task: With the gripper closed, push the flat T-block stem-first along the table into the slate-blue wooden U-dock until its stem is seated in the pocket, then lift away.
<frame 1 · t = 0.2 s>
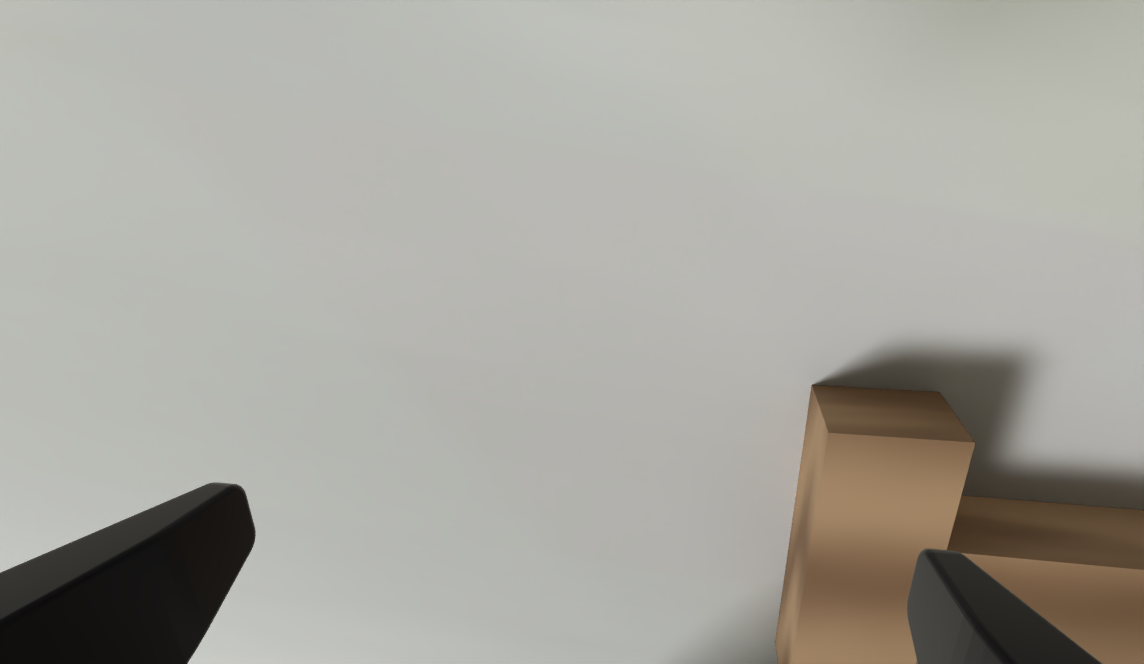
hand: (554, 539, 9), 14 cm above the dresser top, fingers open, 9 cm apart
t block: (905, 536, 24), on the dresser top
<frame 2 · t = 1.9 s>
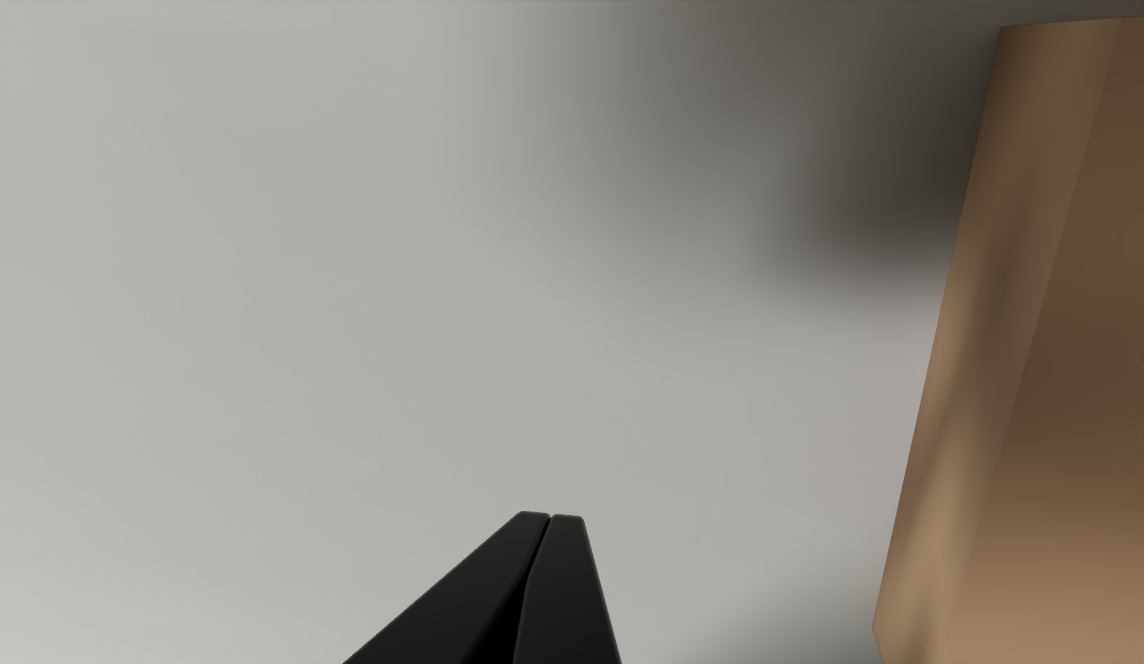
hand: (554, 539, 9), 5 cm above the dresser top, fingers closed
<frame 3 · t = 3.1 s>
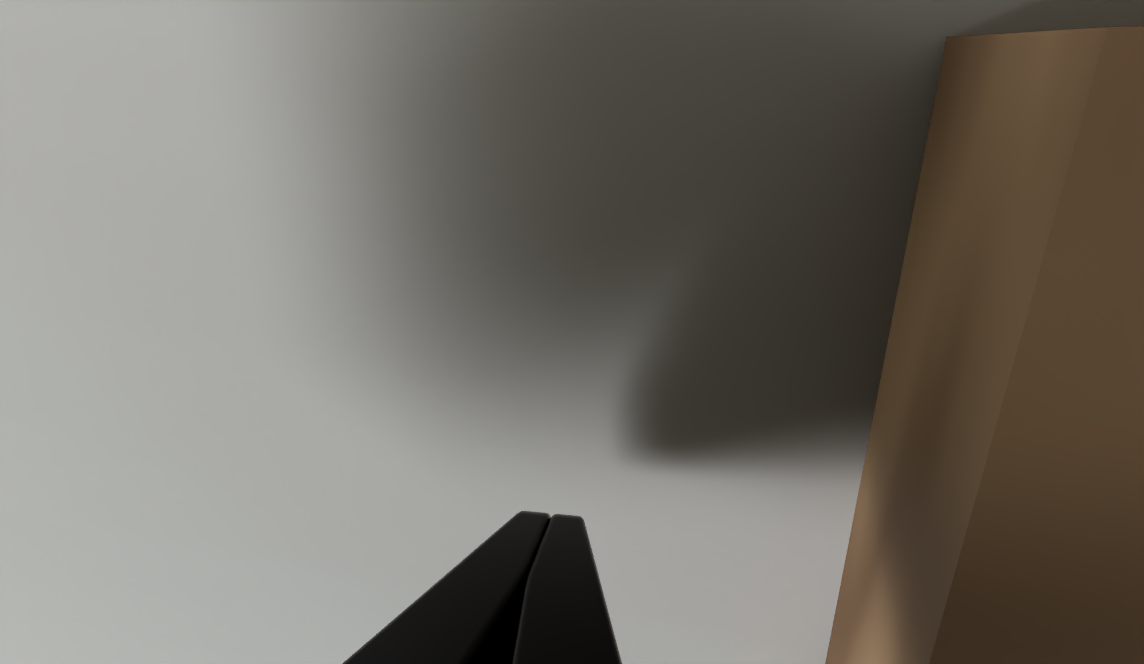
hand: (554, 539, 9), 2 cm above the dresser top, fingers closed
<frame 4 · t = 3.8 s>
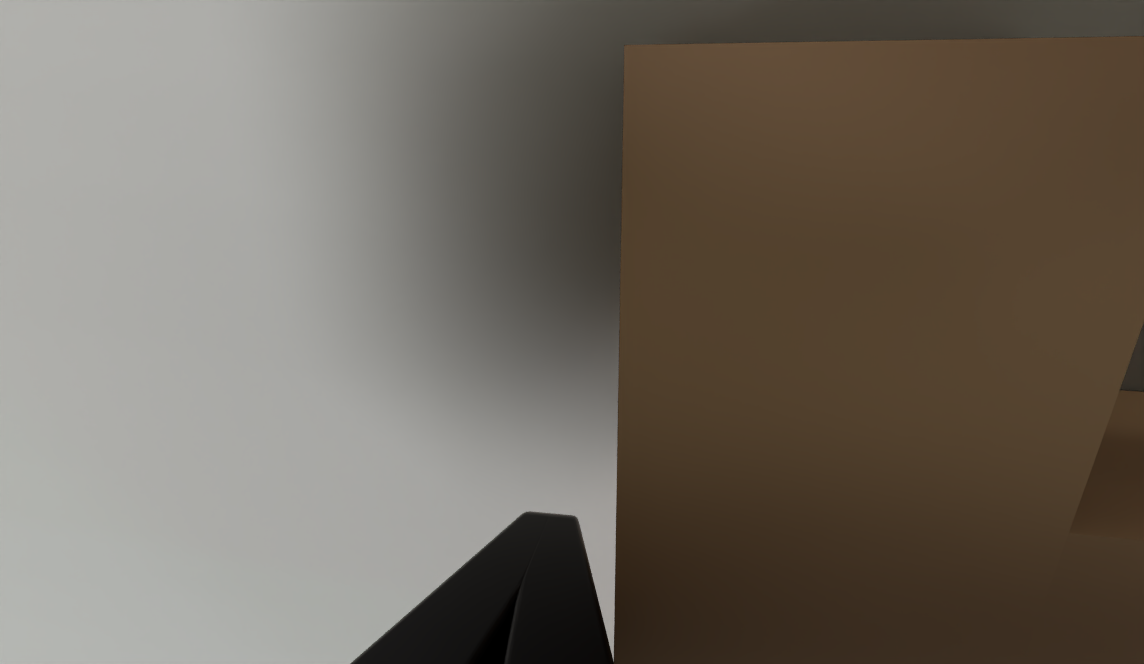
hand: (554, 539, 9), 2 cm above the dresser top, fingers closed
t block: (919, 505, 9), on the dresser top, touching gripper
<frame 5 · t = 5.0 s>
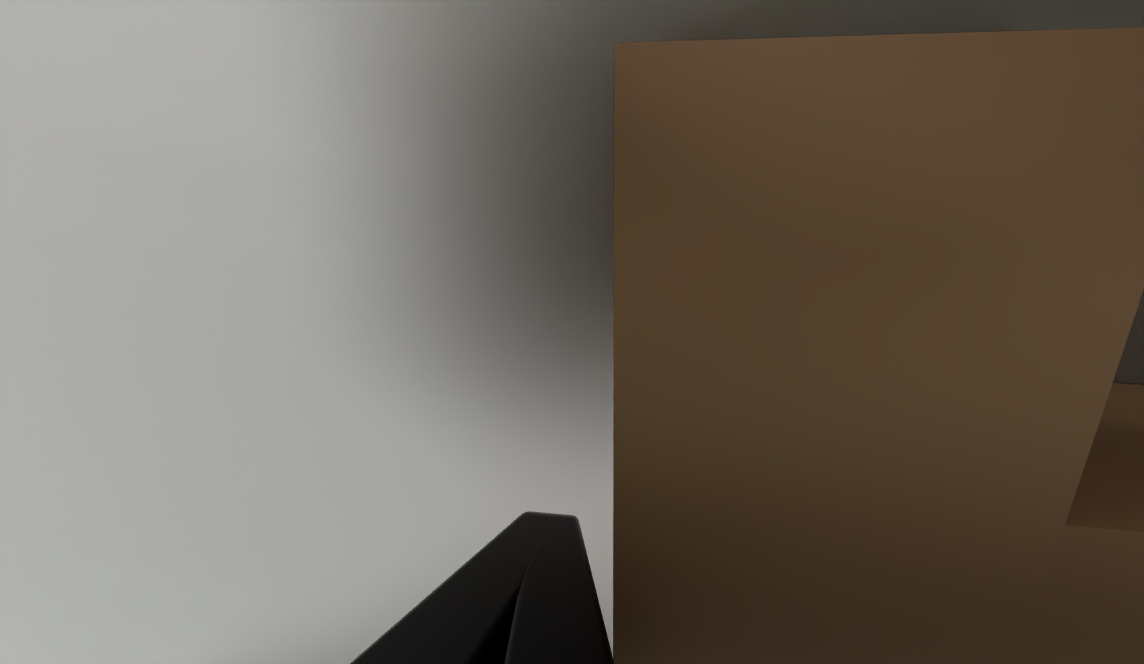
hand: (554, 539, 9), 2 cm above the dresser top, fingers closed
t block: (918, 500, 9), on the dresser top, touching gripper
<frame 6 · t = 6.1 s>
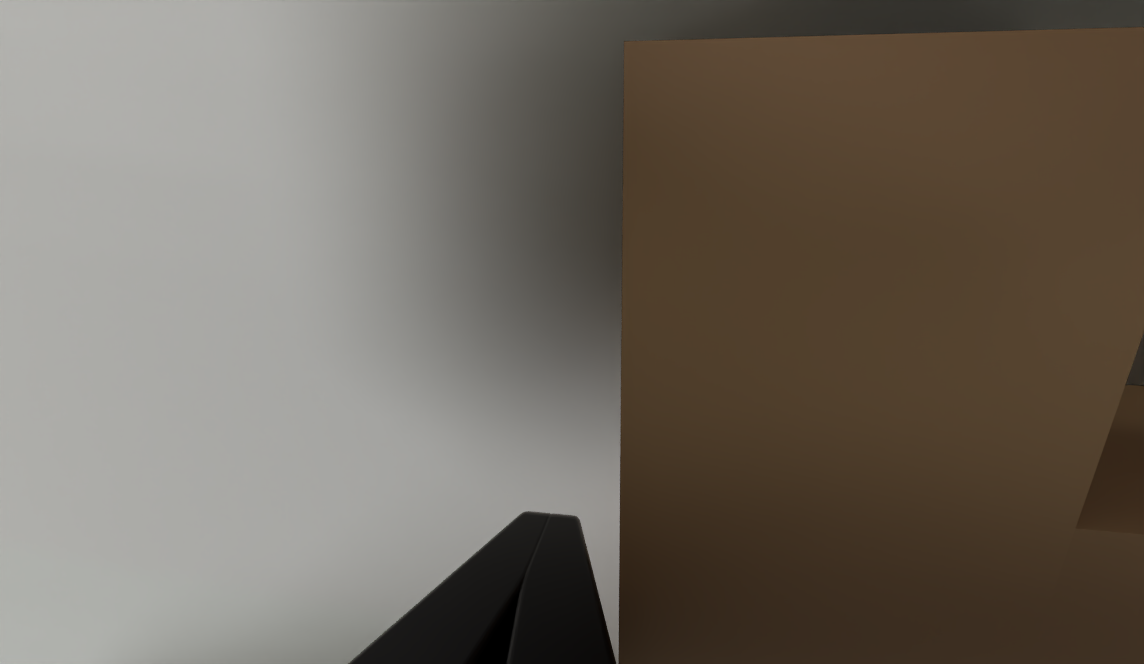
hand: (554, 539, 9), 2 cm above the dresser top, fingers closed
t block: (923, 501, 9), on the dresser top, touching gripper
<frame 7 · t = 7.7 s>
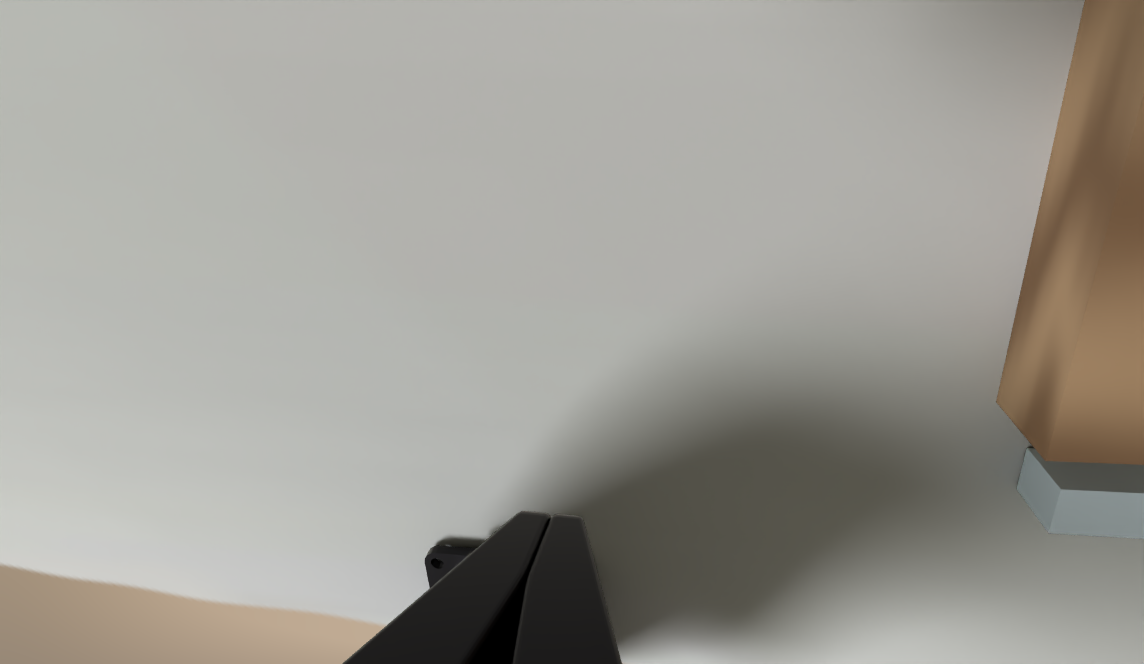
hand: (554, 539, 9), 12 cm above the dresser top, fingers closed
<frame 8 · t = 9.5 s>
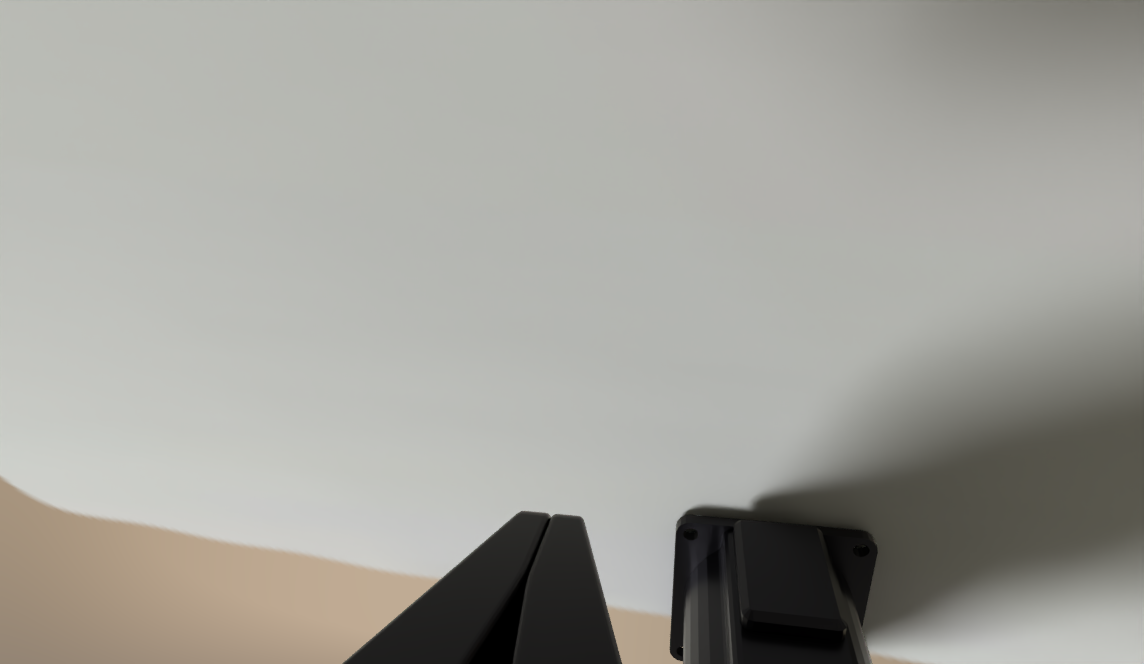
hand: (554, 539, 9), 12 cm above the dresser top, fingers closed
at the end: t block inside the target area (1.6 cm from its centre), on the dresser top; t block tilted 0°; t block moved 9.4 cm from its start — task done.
